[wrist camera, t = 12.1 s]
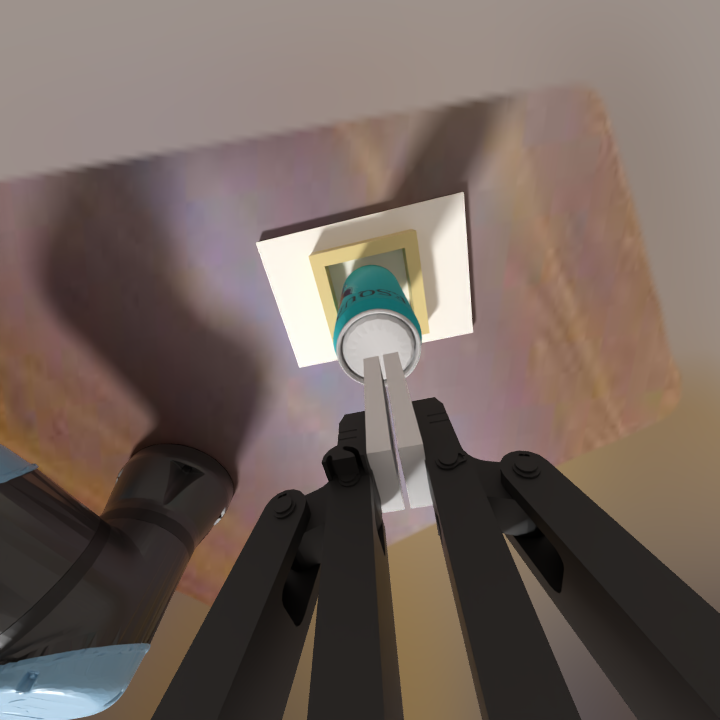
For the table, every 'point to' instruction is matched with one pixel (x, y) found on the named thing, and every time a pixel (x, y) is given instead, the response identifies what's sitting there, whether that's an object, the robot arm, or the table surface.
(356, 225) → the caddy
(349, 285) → the beverage can
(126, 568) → the robot arm
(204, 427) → the table surface
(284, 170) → the table surface
